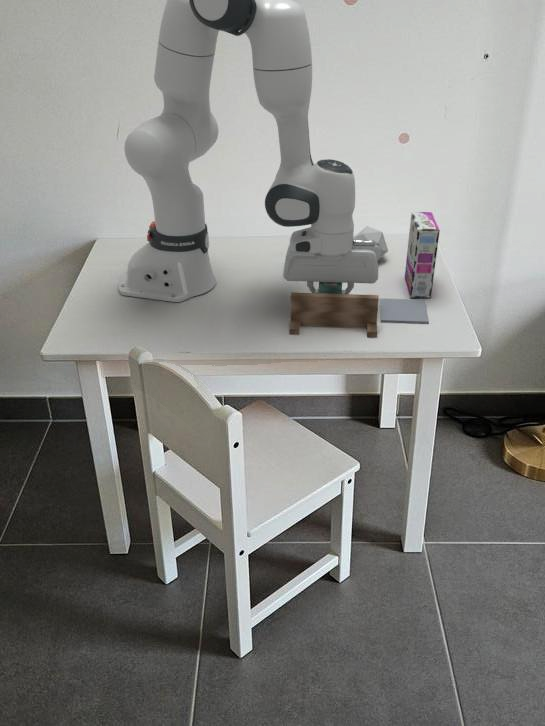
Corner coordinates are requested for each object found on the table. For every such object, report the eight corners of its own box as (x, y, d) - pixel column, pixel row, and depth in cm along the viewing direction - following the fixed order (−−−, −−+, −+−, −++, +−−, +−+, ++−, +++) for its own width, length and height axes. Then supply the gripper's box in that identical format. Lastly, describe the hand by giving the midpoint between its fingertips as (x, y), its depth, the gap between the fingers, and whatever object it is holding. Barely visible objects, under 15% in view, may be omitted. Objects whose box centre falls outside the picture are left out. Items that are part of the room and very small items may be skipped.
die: (393, 263, 182) (388, 225, 183) (381, 258, 174) (376, 218, 175) (362, 269, 186) (358, 232, 186) (350, 265, 178) (345, 226, 179)
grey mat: (380, 322, 155) (381, 320, 155) (379, 300, 164) (379, 298, 163) (428, 323, 154) (428, 321, 154) (424, 301, 163) (425, 299, 163)
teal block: (317, 312, 159) (318, 286, 156) (318, 301, 164) (319, 276, 160) (340, 312, 159) (342, 287, 156) (341, 302, 163) (342, 277, 160)
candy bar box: (432, 298, 164) (440, 229, 155) (410, 298, 164) (416, 229, 155) (425, 277, 173) (432, 210, 165) (404, 277, 174) (410, 210, 165)
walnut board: (289, 334, 151) (289, 304, 148) (291, 321, 156) (291, 292, 152) (376, 337, 150) (379, 307, 146) (376, 324, 154) (378, 295, 151)
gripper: (381, 234, 154) (377, 293, 162) (285, 232, 156) (285, 290, 164) (382, 246, 149) (378, 306, 157) (282, 244, 151) (282, 303, 158)
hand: (329, 298), depth 160 cm, fingers closed on teal block, 5 cm apart
